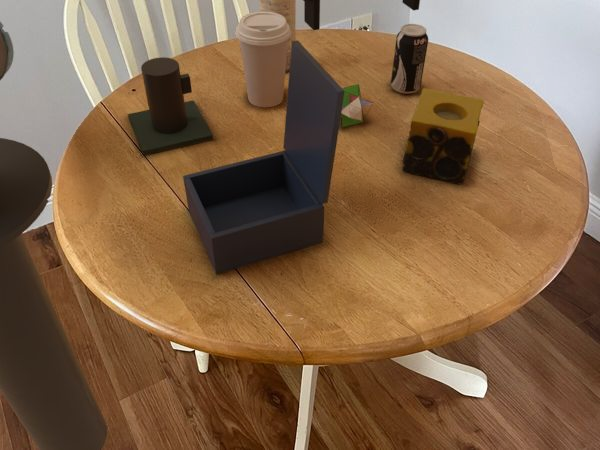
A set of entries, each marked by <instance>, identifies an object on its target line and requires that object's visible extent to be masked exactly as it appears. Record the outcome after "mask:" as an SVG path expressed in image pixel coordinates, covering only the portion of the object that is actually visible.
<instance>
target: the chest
mask: <svg viewBox="0 0 600 450" xmlns="http://www.w3.org/2000/svg"><path fill="white" fill-rule="evenodd" d="M182 179H183V186H184V191H185V198H186V203H187V204H186V205H187V209H188V213H189V215H190V217H191V220H192V222H193V225H194V227H195V229H196V231H197V234H198V236H199V238H200V241H201V243H202V245H203V248H204V250H205V252H206V255H207V256H208V259H209V261H210V264H211V265H212V268H213V270H214V272H215V275H220V274H224V273H226V272H227V273H228V272H230V271H233V270H236V269H240V268H242V267H246V266H249V265H252V264H253V265H254V264H257V263H260V262H262V261H267V260H269V259H272V258H276V257H279V256H282V255H285V254H290V253H293V252H295V251H298V250H299V251H300V250H302V249H305V248H308V247H309V248H310V247H312V246H316V245H319V244H322V243H323V242H324V223H325V204H322V203H321V202H320V200H319V199H318V197H317V196H316V195H315V193H314V192H313V190H312V189H311V187H310V186H309V184H308V183H307V181H306V180H305V179H304V177H303V176H302V174H301V173H300V171H299V170H298V168H297V167H296V166H295V164H294V163H293V161H292V160H291V158H290V157H289V155H288V154H287V152H286V151H285V150H280V151H277V152H276V151H275V152H272V153H269V154H265V155H261V156H257V157H253V158H249V159H245V160H241V161H237V162H233V163H228V164H225V165H220V166H217V167H211V168H208V169H204V170H200V171H195V172H193V173H188V174H183V175H182Z"/></svg>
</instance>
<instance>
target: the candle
mask: <svg viewBox="0 0 600 450" xmlns="http://www.w3.org/2000/svg"><path fill="white" fill-rule="evenodd" d="M484 103H485V100H484V99H483V98H477V97H471V96H465V95H461V94H455V93H450V92H446V91H442V90H436V89H431V88H425V87H423V88H422V90H421V92H420V96H419V99H418V102H417V105H416V109H415V110H414V113H413V115H412V117H411V121H410V127H409V133H408V138H407V145H406V149H405V152H404V156H403V160H402V165H403V166H402V167H401V169H402V172H404V173H410V174H413V175H417V176H423V177H425V178H430V179H435V180H440V181H443V182H449V183H453V184H456V185H463V184H464V182H465V179H466V177H467V176H466V175H467V173H468V168H469V164H470V161H471V156H472V152H473V150H474V144H475V141H476V138H477V134H478V130H479V129H478V128H479V126H480V122H481V121H480V117H481V113H482V109H483V107H484Z"/></svg>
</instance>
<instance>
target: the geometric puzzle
mask: <svg viewBox="0 0 600 450" xmlns="http://www.w3.org/2000/svg"><path fill="white" fill-rule="evenodd" d="M341 88H342V89H343V90H344V91H345V92H344V99H343V105H342V112H341V118H340V123H341V128H345V127H349V126H353V125H356V124H360V123H364V121H365V120H364V114H363V113H364V111H363V107H364V106H367V105H371V106H373V105H374V102H373V101H369V100H368V99H365V98H364V97H362V93H361V86H360V83H357V84H353V85H349V86H346V87H341ZM363 91H364V93H366V92H365V90H363ZM366 96H368V94H366ZM368 97H369V96H368ZM369 111H370V110H368V111H367V112H366V115H368V114H369Z"/></svg>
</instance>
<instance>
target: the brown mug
mask: <svg viewBox="0 0 600 450" xmlns="http://www.w3.org/2000/svg"><path fill="white" fill-rule="evenodd" d="M180 69H181V68H180V63H179V62H178V60H176V59H174V58H171V57H163V56H162V57H155V58H151V59H148V60H146V61H145V62H143V63H142V64H141V67H140V70H141V75H142V80H143V85H144V90H145V97H146V101H147V107H148V110H149V111H150V116H151V121H152V126H153V129H154V130H155V131H157V132H159V133H163V134H172V133H177V132H179V131H181V130H183V129H184V128H185V127H186V126H187V123H188V122H187V116H186V109H185V102H186V101H185V95H186V94H187V95H188V94H192V93H193V90H192V82H191V81H192V80H191V76H190V75H189V73H183V74H181V70H180Z"/></svg>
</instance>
